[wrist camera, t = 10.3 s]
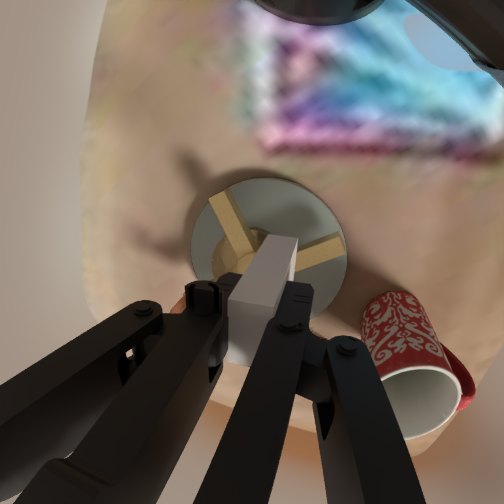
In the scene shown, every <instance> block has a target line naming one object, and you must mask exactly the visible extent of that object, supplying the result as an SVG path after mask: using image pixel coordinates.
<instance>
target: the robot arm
mask: <svg viewBox="0 0 504 504" xmlns="http://www.w3.org/2000/svg"><path fill="white" fill-rule="evenodd" d="M255 1H256V2H257V3H258V4H259V5H261V6H262V7H263V8H264V9H266V10H267V11H269V12H271V13H273V14H274V15H277V16H279V17H281V18H284V19H286V20H289V21H293V22H296V23H301V24H307V25H318V26H328V25H338V24H344V23H348V22H352V21H355V20H357V19H360V18H362V17H364V16H366V15H368V14H370V13H371V12H373V11H374V10H375V9H377V8H378V7H379V6H380V5H381V4H382V3H383V1H384V0H255ZM405 1H407V2H408V3H410V4H411V5H412V6H414V7H415V8H416V9H418V10H419V11H420V12H422V13H423V14H424V15H425V16H427V17H428V18H429V19H430V20H432V21H433V22H434V23H435V24H436V25H438V26H439V27H440V28H441V29H442V30H443V31H445V32H446V33H447V34H448V35H449V36H450V37H451V38H452V39H453V40H454V41H456V42H457V43H458V44H459V45H460V46H461V47H462V48H463V49H464V50H465V51H466V52H467V53H468V54H469V56H470V57H471V59H472V60H473V62H474V63H475V64H476V65H477V66H478V67H479V68H481V69H482V70H484V71H486V72H487V73H489V74H490V75H491V76H492V77H493V78H494V79H495V80H496V81H497V82H498V83H499V84H500V85H501V86H502V87H503V88H504V0H405ZM297 244H298V238H294V237H287V236H280V235H272V234H268V235H267V237H266V239H265V240H264V242H263V243H262V245H261V247H260V248H259V250H258V251H257V253H256V255H255V256H254V258H253V259H252V261H251V263H250V264H249V266H248V267H247V269H246V271H245V272H244V274H237V273H231V272H228V273H226V274H224V275H222V276H220V277H219V279H218V280H217V281H216V282H213V281H207V280H200V281H194V282H191V283H189V284H187V285H186V286H185V298H186V308H185V309H184V310H183V311H182V313H163V312H162V307H161V305H160V304H158V303H157V302H154V301H150V300H142V301H137V302H134V303H132V304H130V305H128V306H127V307H125V308H123V309H122V310H120V311H118V312H117V313H115V314H113V315H112V316H110V317H109V318H107V319H105V320H104V321H102V322H100V323H99V324H97V325H96V326H94V327H92V328H91V329H89V330H87V331H86V332H84V333H83V334H81V335H80V336H78V337H76V338H75V339H73V340H71V341H70V342H68V343H67V344H65V345H63V346H62V347H60V348H59V349H57V350H55V351H54V352H52V353H51V354H49V355H48V356H46V357H44V358H43V359H41V360H40V361H38V362H37V363H35V364H33V365H32V366H30V367H28V368H27V369H25V370H24V371H22V372H21V373H19V374H17V375H16V376H14V377H13V378H11V379H10V380H8V381H7V382H5V383H3V384H2V385H0V502H2V501H5V500H7V499H9V498H11V497H13V496H15V495H17V494H19V493H20V492H21V491H22V493H21V494H20V495H19V497H18V498H17V499H16V501H15V502H14V503H13V504H156V502H157V501H158V499H159V497H160V495H161V493H162V491H163V489H164V487H165V485H166V483H167V481H168V479H169V477H170V475H171V473H172V471H173V470H174V468H175V466H176V464H177V462H178V460H179V458H180V456H181V454H182V452H183V450H184V448H185V446H186V444H187V442H188V440H189V438H190V436H191V434H192V432H193V430H194V428H195V426H196V424H197V422H198V420H199V418H200V416H201V414H202V412H203V410H204V408H205V406H206V404H207V402H208V400H209V398H210V396H211V393H212V391H213V389H214V387H215V385H216V383H217V381H218V379H219V377H220V375H221V373H222V370H223V359H224V357H225V355H226V353H227V362H230V363H234V364H239V365H244V366H248V367H250V369H249V372H248V374H247V377H246V379H245V382H244V384H243V387H242V389H241V392H240V394H239V397H238V399H237V402H236V404H235V406H234V409H233V411H232V414H231V416H230V419H229V422H228V424H227V426H226V428H225V431H224V433H223V435H222V438H221V440H220V443H219V445H218V447H217V450H216V452H215V454H214V457H213V459H212V461H211V464H210V466H209V468H208V470H207V473H206V475H205V477H204V480H203V482H202V484H201V487H200V489H199V491H198V493H197V495H196V498H195V500H194V502H193V504H268V502H269V498H270V494H271V491H272V487H273V483H274V480H275V476H276V472H277V468H278V465H279V460H280V457H281V453H282V449H283V445H284V441H285V437H286V433H287V428H288V424H289V420H290V415H291V411H292V407H293V402H294V398H295V394H298V395H300V396H302V397H304V398H307V399H309V400H311V401H313V404H312V406H313V412H314V418H315V424H316V430H317V436H318V442H319V449H320V455H321V461H322V468H323V475H324V482H325V489H326V495H327V503H328V504H426V502H425V498H424V495H423V492H422V489H421V486H420V483H419V480H418V477H417V474H416V472H415V468H414V465H413V463H412V460H411V457H410V454H409V451H408V448H407V446H406V443H405V440H404V437H403V435H402V432H401V429H400V427H399V424H398V421H397V419H396V416H395V414H394V411H393V408H392V406H391V403H390V401H389V398H388V396H387V393H386V391H385V388H384V386H383V383H382V381H381V378H380V376H379V373H378V371H377V369H376V366H375V364H374V361H373V359H372V357H371V354H370V352H369V350H368V348H367V346H366V345H365V343H364V342H362V341H361V340H359V339H357V338H354V337H352V336H344V335H342V336H336V337H334V338H331V339H330V340H329V341H328V342H326V341H324V340H322V339H319V338H317V337H316V336H315V335H313V333H312V332H311V331H310V329H309V320H310V314H311V308H312V302H313V296H314V289H313V287H312V286H311V284H308V283H301V282H294V281H293V279H294V271H295V262H296V253H297ZM131 348H132V352H133V355H132V356H130V357H128V358H127V357H126V352H127V351H129V350H130V349H131ZM71 452H73V453H72V454H71V455H70V456H69V457H67V456H68V455H69V454H70V453H71ZM65 457H67V458H65ZM64 458H65V459H64Z"/></svg>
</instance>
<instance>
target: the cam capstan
mask: <svg viewBox="0 0 504 504" xmlns="http://www.w3.org/2000/svg"><path fill="white" fill-rule="evenodd" d="M208 200H209V202H210V204H211V206H212V208H213V210H214V212H215V213H216V215H217V217H218V219H219V221H220V223H221V225H222V227H223V229H224V231H225V233H226V236H225V237H224V238H223V239H222V240H221V241H220V242H219V243H218V244H217V246H216V248H215V249H214V252H213V255H212V262H211V265H212V272H213V275H214V278H213V279H210V280H207V281H213V282H216V281H217V280H218V279H219V277H220V276H222V275H224V274H226V273H228V272H231V273H237V274H244V272H245V271H246V269H247V267H248V266H249V264H250V263H251V261H252V259H253V258H254V256H255V255H256V253H257V251H258V250H259V248H260V247H261V245H262V243H263V242H264V240H265V239H266V237H267V235H268V234H272V233H270V232H268V231H266V230H264V229H261V228H256V227H249V226H248V224H247V222H246V220H245V218H244V216H243V214H242V212H241V210H240V208H239V206H238V204H237V202H236V200H235V198H234V196H233V194H232V192H231V190H230V188H228V189H226V190H224V191H222V192H220V193H217V194H215V195H214V196H212V197H210V198H208ZM272 235H274V234H272ZM344 254H346V251H345V245H344V243H343V240H342V238H341V235H340V233H339V231H337V232H334V233H331V234H329V235H326V236H324V237H321V238H318V239H316V240H313V241H311V242H308V243H305V244H303V245H300V246H297V253H296V262H295V271H294V272H297V271H300V270H302V269H305V268H308V267H311V266H313V265H316V264H319V263H322V262H324V261H327V260H330V259H333V258H335V257H338V256H341V255H344ZM185 308H186V298H185V292H184V293H183V297H182V298H181V299H180V300H179V301H178V302H177V303H176V305H175V306H174V307H173V308H172V309H171V311H170V313H182V311H183V310H184V309H185Z"/></svg>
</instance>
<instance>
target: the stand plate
mask: <svg viewBox="0 0 504 504" xmlns="http://www.w3.org/2000/svg"><path fill="white" fill-rule="evenodd" d="M228 188H230V190H231V192H232V194H233V196H234V198H235V200H236V202H237V204H238V206H239V208H240V210H241V212H242V214H243V216H244V218H245V220H246V222H247V224H248V226H249V227H256V228H261V229H264V230H266V231H268V232H270V233H272V234H274V235H280V236H287V237H294V238H298V244H297V246H300V245H303V244H305V243H308V242H311V241H313V240H316V239H318V238H321V237H324V236H326V235H329V234H331V233H334V232H337V231H339V233H340V235H341V238H342V240H343V243H344V245H345V251H346V243H345V238H344V234H343V231H342V228H341V226H340V224H339V222H338V220H337V218H336V216H335V215H334V213H333V212H332V210H331V209H330V208H329V206H328V205H327V204H326V203H325V202H324V201H323V200H322V199H321V198H320V197H318V196H317V195H316V194H315V193H313V192H312V191H310V190H309V189H307V188H306V187H304V186H301V185H299V184H297V183H295V182H291V181H288V180H285V179H279V178H271V177H261V178H252V179H248V180H244V181H241V182H239V183H236V184H234V185H232V186H230V187H228ZM228 188H227V189H228ZM225 190H226V189H225ZM223 191H224V190H223ZM225 236H226V233H225V231H224V229H223V227H222V225H221V223H220V221H219V219H218V217H217V215H216V213H215V212H214V210H213V208H212V206H211V204H210V202H209V203H208V204H207V205H206V206H205V207H204V209H203V210H202V212H201V213H200V215H199V217H198V219H197V221H196V223H195V226H194V229H193V233H192V238H191V259H192V264H193V268H194V271H195V274H196V277H197V279H198V281H200V280H210V279H213V278H214V275H213V272H212V265H211V262H212V255H213V252H214V249H215V248H216V246H217V244H218V243H219V242H220V241H221V240H222V239H223V238H224V237H225ZM346 266H347V251H346V254H344V255H341V256H338V257H335V258H333V259H330V260H327V261H324V262H322V263H319V264H316V265H313V266H311V267H308V268H305V269H302V270H300V271H297V272H294V279H293V281H294V282H301V283H308V284H311V286H312V287H313V289H314V296H313V302H312V308H311V314H310V319H312V318H314V317H315V316H317V315H318V314H319V313H321V312H322V311H323V310H324V309H325V308H327V307H328V306H329V304H330V303H331V302H332V301H333V300H334V298H335V297H336V295H337V294H338V292H339V290H340V288H341V286H342V283H343V281H344V277H345V273H346Z"/></svg>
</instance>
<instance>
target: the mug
mask: <svg viewBox="0 0 504 504" xmlns="http://www.w3.org/2000/svg"><path fill="white" fill-rule="evenodd" d="M361 341H362V342H364V343H365V345H366V346H367V348H368V350H369V352H370V354H371V357H372V359H373V361H374V364H375V366H376V369H377V371H378V373H379V376H380V378H381V381H382V383H383V386H384V388H385V391H386V393H387V396H388V398H389V401H390V403H391V406H392V408H393V411H394V414H395V416H396V419H397V421H398V424H399V427H400V429H401V432H402V435H403V437H404V440H408V439H413V438H417V437H420V436H423V435H425V434H428V433H430V432H432V431H433V430H435V429H437V428H438V427H440V426H441V425H442V424H444V423H445V422H446V421H447V420H448V419H449V418H450V417H451V416H452V414H453V413H454V412H455V410H462V409H464V408H466V407H467V406H468V405H469V404H470V402H471V401H472V399H473V398H474V396H475V391H476V389H475V384H474V381H473V379H472V377H471V375H470V373H469V372H468V370H467V369H466V368H465V366H464V365H463V364H462V363H461V362H460V361H459V360H458V358H457V357H456V356H455V355H454V354H453V353H452V352H451V351H449V350H448V349H447V348H446V347H445V346H444V345H443V344H442V343H440V342H439V340H438V338H437V336H436V333H435V331H434V329H433V327H432V325H431V323H430V321H429V319H428V317H427V314H426V312H425V310H424V308H423V306H422V304H421V303H420V302H419V300H418V299H417V298H416V297H414V296H413V295H411V294H409V293H407V292H402V291H392V292H387V293H384V294H382V295H380V296H378V297H376V298H375V299H374V300H373V301H371V302H370V303H369V305H368V306H367V307H366V309H365V311H364V313H363V316H362V323H361ZM461 390H462V391H461ZM461 393H463V395H462V394H461Z"/></svg>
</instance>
